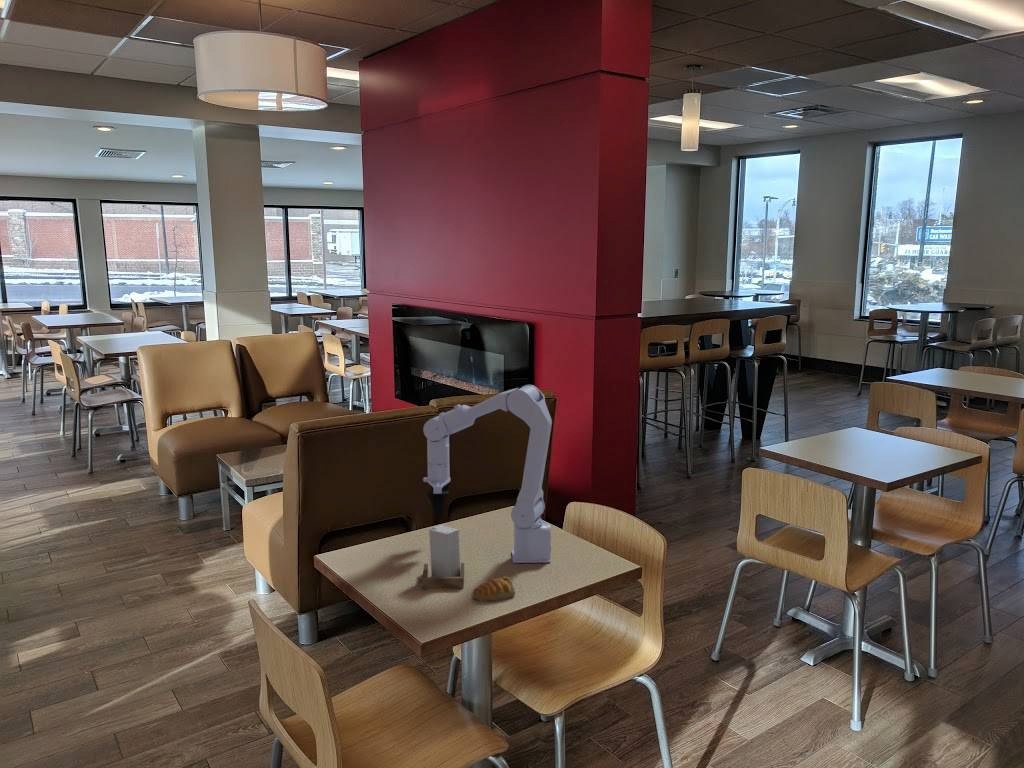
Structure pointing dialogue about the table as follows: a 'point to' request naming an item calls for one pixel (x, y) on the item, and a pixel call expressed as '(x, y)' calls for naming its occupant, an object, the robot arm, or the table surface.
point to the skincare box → (444, 552)
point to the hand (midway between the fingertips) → (439, 511)
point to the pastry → (495, 589)
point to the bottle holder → (442, 580)
